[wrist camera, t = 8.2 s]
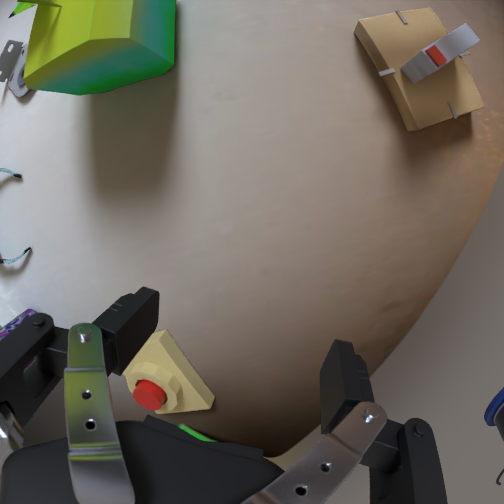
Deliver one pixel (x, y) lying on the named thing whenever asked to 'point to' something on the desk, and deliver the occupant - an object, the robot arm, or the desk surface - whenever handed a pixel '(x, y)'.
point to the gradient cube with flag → (97, 43)
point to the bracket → (14, 67)
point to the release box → (169, 375)
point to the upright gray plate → (439, 53)
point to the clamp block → (405, 48)
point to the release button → (149, 395)
